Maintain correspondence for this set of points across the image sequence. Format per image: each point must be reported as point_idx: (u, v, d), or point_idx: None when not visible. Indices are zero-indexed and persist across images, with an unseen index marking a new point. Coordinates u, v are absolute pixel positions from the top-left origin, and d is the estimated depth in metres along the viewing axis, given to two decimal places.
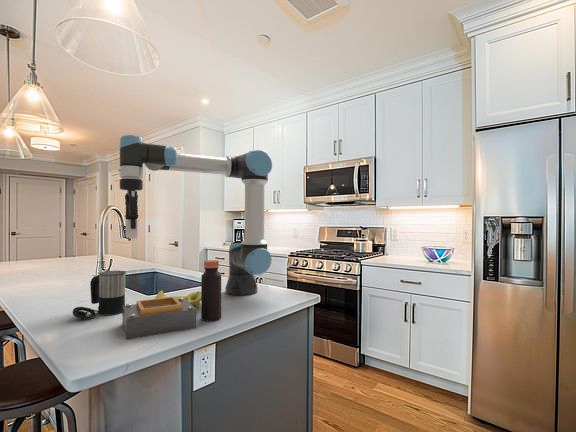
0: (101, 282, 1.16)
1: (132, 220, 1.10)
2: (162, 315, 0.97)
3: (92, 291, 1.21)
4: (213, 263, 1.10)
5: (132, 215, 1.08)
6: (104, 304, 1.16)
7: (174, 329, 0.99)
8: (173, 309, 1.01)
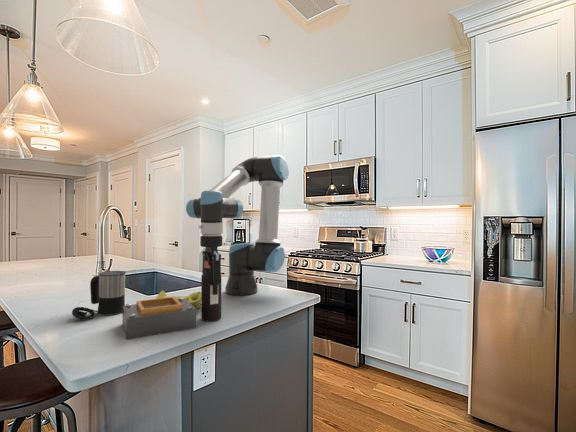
0: (101, 282, 1.16)
1: (214, 286, 1.08)
2: (162, 315, 0.97)
3: (92, 291, 1.21)
4: None
5: (216, 282, 1.06)
6: (104, 304, 1.16)
7: (174, 329, 0.99)
8: (173, 309, 1.01)
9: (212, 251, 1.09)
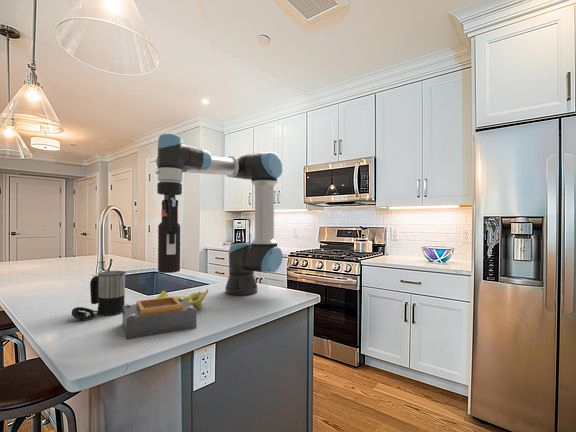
0: (101, 282, 1.16)
1: (171, 234, 1.01)
2: (162, 315, 0.97)
3: (92, 291, 1.21)
4: None
5: (172, 230, 0.99)
6: (104, 304, 1.15)
7: (174, 329, 0.99)
8: (173, 309, 1.01)
9: (169, 197, 1.01)
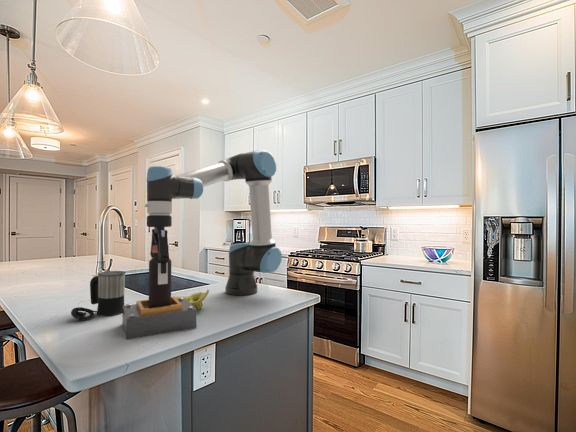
0: (100, 282, 1.15)
1: (162, 264, 0.97)
2: (162, 315, 0.97)
3: (92, 291, 1.20)
4: None
5: (163, 259, 0.96)
6: (103, 305, 1.15)
7: (174, 329, 0.99)
8: (173, 309, 1.01)
9: (158, 230, 1.01)
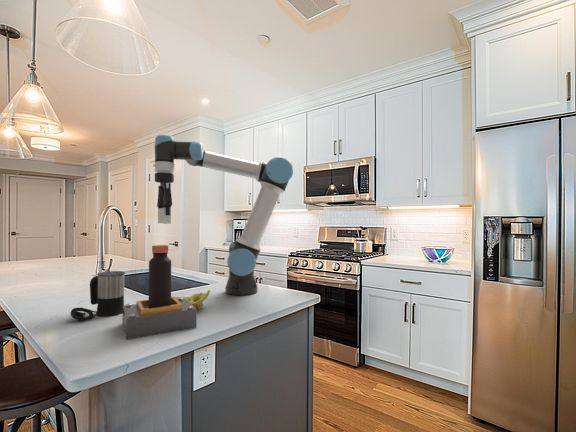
0: (100, 282, 1.15)
1: (167, 208, 1.28)
2: (162, 315, 0.97)
3: (91, 292, 1.20)
4: (161, 247, 1.02)
5: (167, 203, 1.27)
6: (103, 305, 1.15)
7: (174, 329, 0.99)
8: (173, 309, 1.01)
9: (163, 184, 1.32)
